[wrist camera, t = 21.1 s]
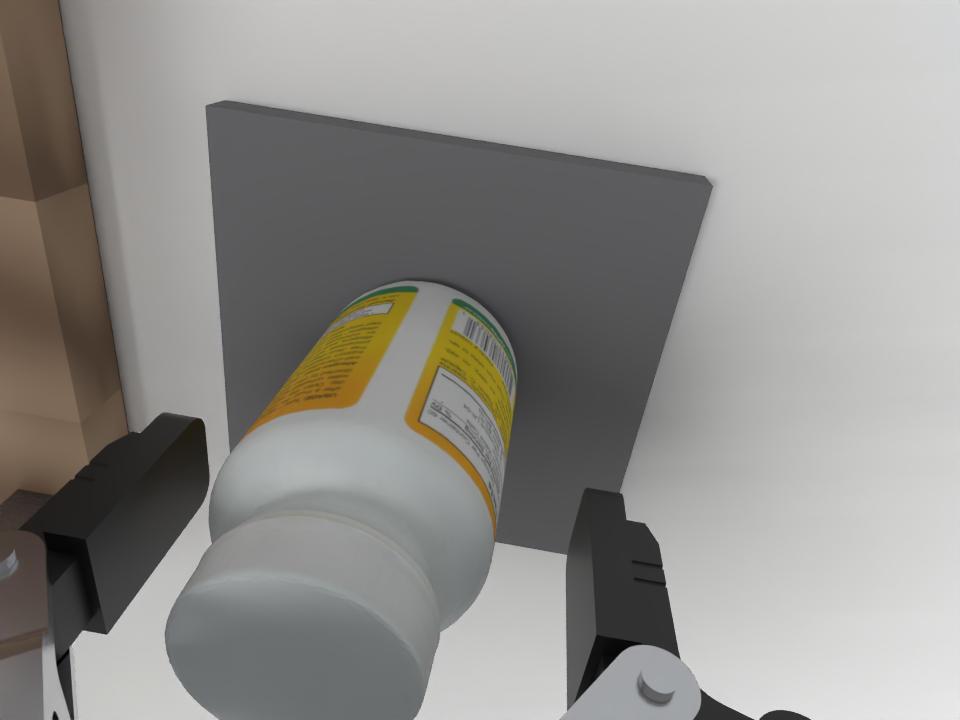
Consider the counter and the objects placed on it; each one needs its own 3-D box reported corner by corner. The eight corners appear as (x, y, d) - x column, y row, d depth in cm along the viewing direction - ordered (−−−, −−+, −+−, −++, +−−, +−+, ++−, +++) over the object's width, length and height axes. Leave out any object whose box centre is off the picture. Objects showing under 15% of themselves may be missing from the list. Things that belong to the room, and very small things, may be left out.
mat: (596, 538, 22) (598, 560, 21) (246, 475, 22) (232, 494, 21) (704, 176, 16) (712, 185, 15) (224, 100, 16) (205, 105, 15)
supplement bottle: (543, 308, 17) (523, 606, 8) (489, 465, 19) (431, 814, 11) (342, 249, 17) (114, 491, 8) (314, 415, 19) (120, 729, 11)
